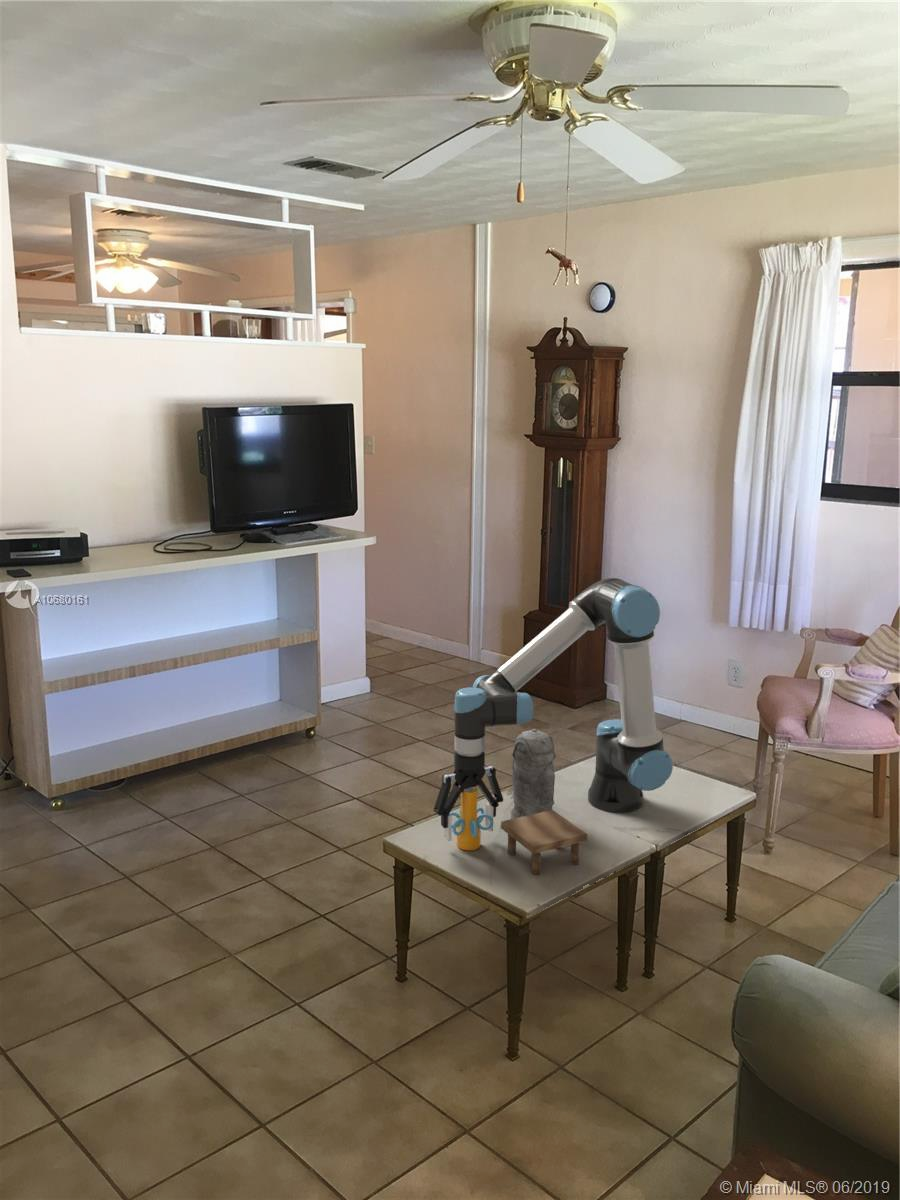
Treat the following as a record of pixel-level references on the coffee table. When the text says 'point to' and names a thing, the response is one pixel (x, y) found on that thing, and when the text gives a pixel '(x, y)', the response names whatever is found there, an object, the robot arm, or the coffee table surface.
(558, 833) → the small wooden table
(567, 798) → the coffee table surface
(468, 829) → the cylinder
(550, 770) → the figurine
